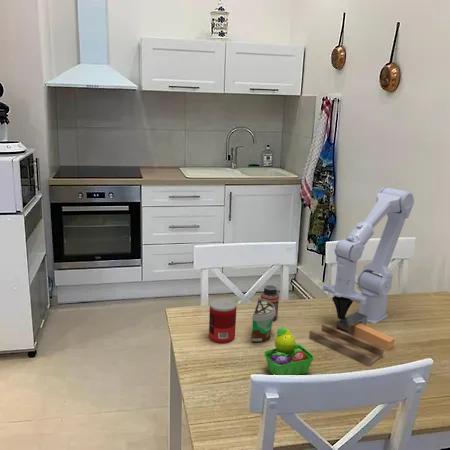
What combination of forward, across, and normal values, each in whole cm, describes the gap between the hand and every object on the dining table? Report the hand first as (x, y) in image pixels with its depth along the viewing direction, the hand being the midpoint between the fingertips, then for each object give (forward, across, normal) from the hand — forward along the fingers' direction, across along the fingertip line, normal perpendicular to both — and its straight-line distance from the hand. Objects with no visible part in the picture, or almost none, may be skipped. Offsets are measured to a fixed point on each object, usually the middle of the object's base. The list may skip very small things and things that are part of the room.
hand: (341, 318), depth 147 cm
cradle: (+3, +8, -10) cm, 13 cm away
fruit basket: (+4, +4, -32) cm, 33 cm away
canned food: (+3, -20, -33) cm, 39 cm away
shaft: (+3, +9, 0) cm, 10 cm away
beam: (+4, +4, 0) cm, 5 cm away
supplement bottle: (+4, -19, -13) cm, 23 cm away
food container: (+4, -12, -23) cm, 26 cm away
